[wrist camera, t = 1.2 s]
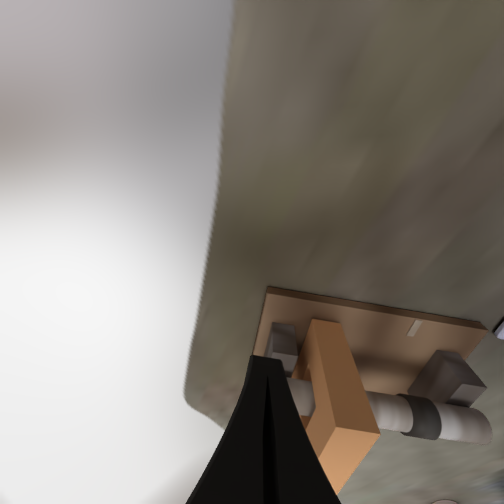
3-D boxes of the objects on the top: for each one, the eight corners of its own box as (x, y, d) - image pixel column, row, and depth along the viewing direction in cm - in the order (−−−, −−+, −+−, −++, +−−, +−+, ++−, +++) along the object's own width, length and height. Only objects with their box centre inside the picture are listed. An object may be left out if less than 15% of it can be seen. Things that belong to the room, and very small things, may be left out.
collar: (289, 382, 25) (298, 494, 17) (312, 318, 21) (336, 427, 13) (314, 386, 25) (333, 499, 17) (340, 323, 21) (380, 434, 13)
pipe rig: (247, 375, 27) (240, 448, 21) (267, 286, 21) (266, 350, 15) (417, 403, 27) (460, 484, 21) (479, 322, 21) (563, 399, 15)
